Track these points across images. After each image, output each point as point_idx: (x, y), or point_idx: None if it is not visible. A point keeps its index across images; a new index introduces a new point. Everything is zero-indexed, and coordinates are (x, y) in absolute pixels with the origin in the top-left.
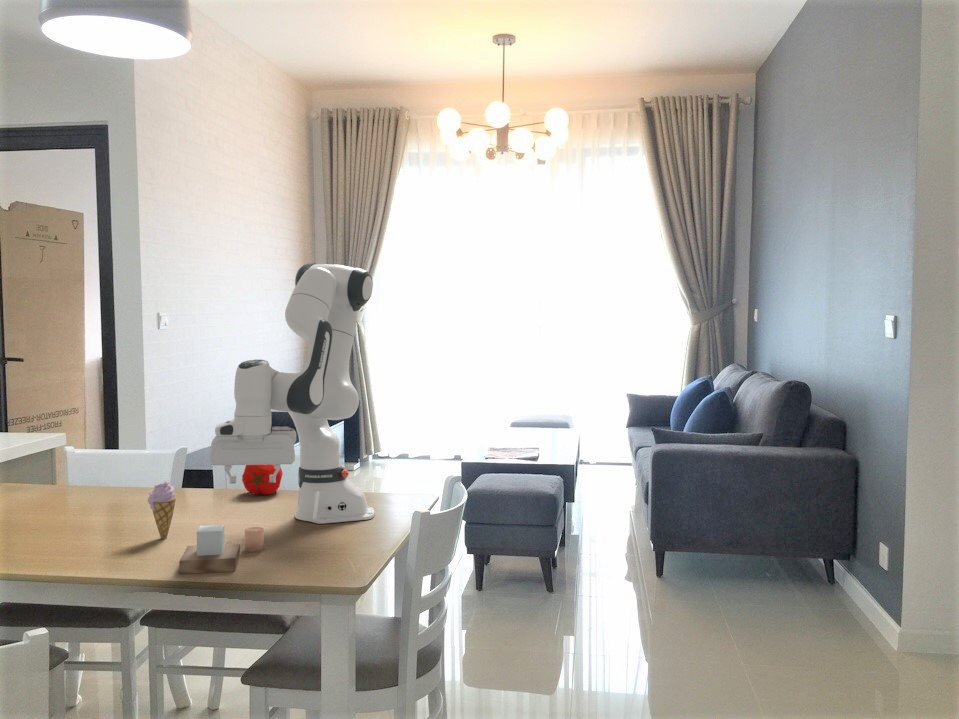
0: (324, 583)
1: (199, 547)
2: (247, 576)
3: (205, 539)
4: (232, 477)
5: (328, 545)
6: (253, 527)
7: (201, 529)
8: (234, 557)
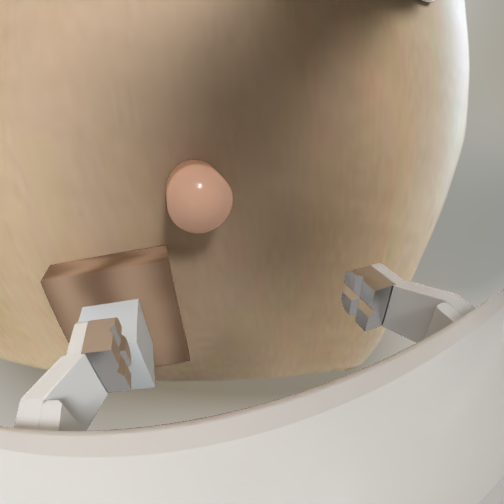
0: (330, 365)
1: None
2: (216, 360)
3: None
4: (109, 386)
5: (368, 167)
6: (192, 174)
7: None
8: (187, 358)
